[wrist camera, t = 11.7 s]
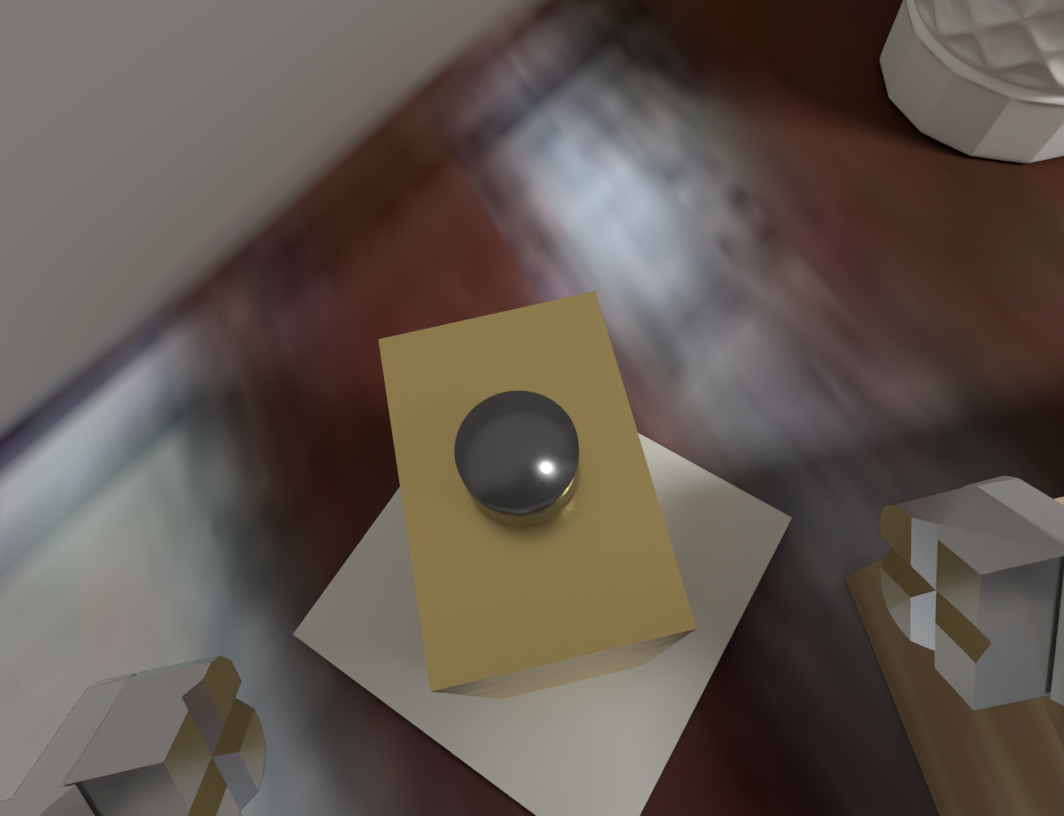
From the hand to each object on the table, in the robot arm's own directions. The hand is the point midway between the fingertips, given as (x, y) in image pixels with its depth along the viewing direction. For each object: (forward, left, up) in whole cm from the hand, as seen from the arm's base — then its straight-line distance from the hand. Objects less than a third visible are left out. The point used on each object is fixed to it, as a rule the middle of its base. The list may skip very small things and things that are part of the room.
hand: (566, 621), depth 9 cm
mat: (-1, -1, -7) cm, 7 cm away
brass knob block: (-1, -1, -7) cm, 7 cm away
